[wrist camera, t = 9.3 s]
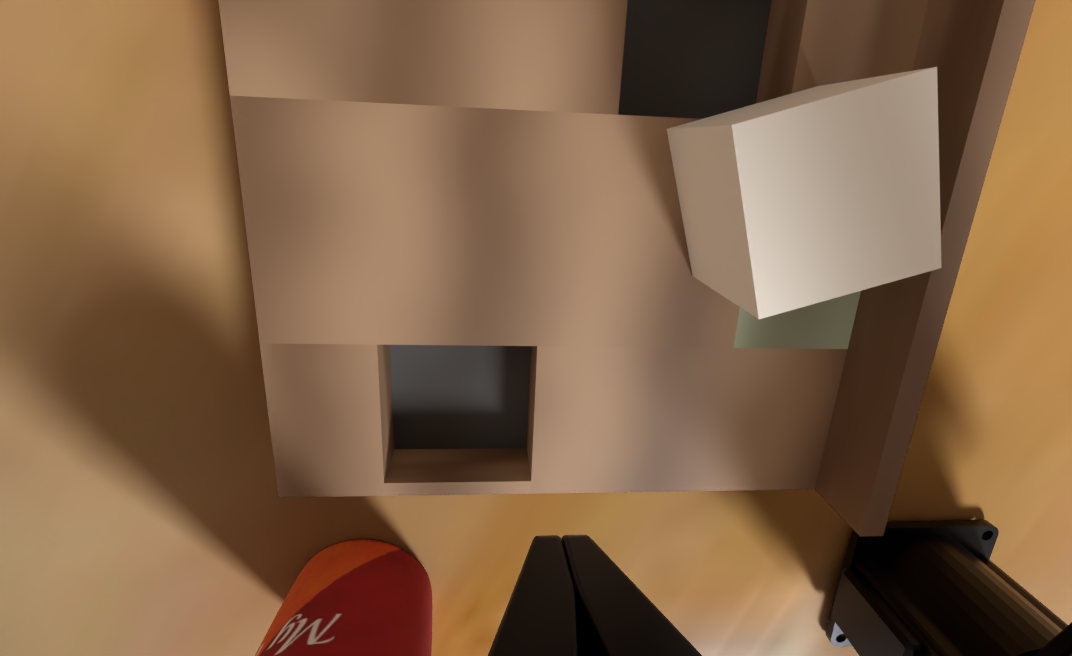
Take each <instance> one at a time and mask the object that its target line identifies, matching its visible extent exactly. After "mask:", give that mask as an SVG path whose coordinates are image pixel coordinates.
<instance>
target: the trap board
mask: <svg viewBox="0 0 1072 656" xmlns="http://www.w3.org/2000/svg"><path fill="white" fill-rule="evenodd" d="M218 2H219V10H220V18H221V27H222V35H223V43H224V52H225V60H226V68H227V76H228V85H229V93H230V101H231V110H232V118H233V126H234V135H235V143H236V151H237V159H238V168H239V176H240V184H241V193H242V201H243V209H244V218H245V226H246V234H247V242H248V251H249V259H250V267H251V276H252V284H253V292H254V301H255V309H256V317H257V325H258V334H259V342H260V350H261V359H262V367H263V375H264V384H265V392H266V400H267V409H268V417H269V425H270V433H271V442H272V450H273V458H274V467H275V475H276V483H277V492H278V497H341V496H406V495H471V494H536V493H602V492H667V491H732V490H797V489H815V490H816V491H817V492H818V493H819V494H820V495H821V496H822V497H823V498H824V499H825V500H826V501H827V502H828V503H829V504H830V505H831V506H832V508H833V509H834V510H835V511H836V512H837V513H838V514H839V515H840V516H841V517H842V518H843V519H844V520H845V521H846V522H847V523H848V524H849V526H850V527H851V528H852V529H853V530H854V531H855V532H856V533H857V534H858V535H859V536H883V534H884V531H885V527H886V524H887V520H888V517H889V513H890V510H891V506H892V503H893V499H894V496H895V492H896V489H897V485H898V482H899V478H900V475H901V471H902V468H903V464H904V461H905V457H906V454H907V450H908V447H909V443H910V439H911V436H912V432H913V429H914V425H915V422H916V418H917V415H918V411H919V408H920V404H921V401H922V397H923V394H924V390H925V387H926V383H927V380H928V376H929V373H930V369H931V366H932V362H933V359H934V355H935V352H936V348H937V345H938V341H939V338H940V334H941V331H942V327H943V324H944V320H945V317H946V313H947V310H948V306H949V302H950V299H951V295H952V292H953V288H954V285H955V281H956V278H957V274H958V271H959V267H960V264H961V260H962V257H963V253H964V250H965V246H966V243H967V239H968V236H969V232H970V229H971V225H972V222H973V218H974V215H975V211H976V208H977V204H978V201H979V197H980V194H981V190H982V187H983V183H984V180H985V176H986V173H987V169H988V166H989V162H990V158H991V155H992V151H993V148H994V144H995V141H996V137H997V134H998V130H999V127H1000V123H1001V120H1002V116H1003V113H1004V109H1005V106H1006V102H1007V99H1008V95H1009V92H1010V88H1011V85H1012V81H1013V78H1014V74H1015V71H1016V67H1017V64H1018V60H1019V57H1020V53H1021V50H1022V46H1023V43H1024V39H1025V36H1026V32H1027V29H1028V25H1029V21H1030V18H1031V14H1032V11H1033V7H1034V4H1035V0H218ZM932 67H937V84H938V130H939V175H940V221H941V267H942V268H939V269H936V270H932V271H929V272H925V273H922V274H918V275H915V276H911V277H908V278H904V279H901V280H897V281H893V282H890V283H886V284H883V285H879V286H876V287H872V288H869V289H865V290H862V291H858V292H854V293H851V294H847V295H844V296H840V297H837V298H833V299H830V300H826V301H823V302H819V303H816V304H812V305H808V306H805V307H801V308H798V309H794V310H791V311H787V312H784V313H780V314H777V315H773V316H770V317H766V318H762V319H757V318H756V317H754V316H753V315H751V314H750V313H748V312H747V311H745V310H744V309H742V308H741V307H739V306H737V305H736V304H734V303H733V302H731V301H730V300H728V299H727V298H725V297H724V296H722V295H721V294H719V293H718V292H716V291H715V290H713V289H712V288H710V287H709V286H707V285H705V284H704V283H702V282H701V281H699V280H698V279H696V278H695V277H693V275H692V270H691V264H690V258H689V253H688V247H687V241H686V236H685V230H684V225H683V219H682V213H681V208H680V202H679V196H678V191H677V185H676V179H675V174H674V168H673V163H672V157H671V151H670V146H669V140H668V134H667V129H668V128H672V127H676V126H679V125H683V124H686V123H690V122H693V121H697V120H700V119H704V118H707V117H711V116H714V115H718V114H721V113H725V112H728V111H732V110H735V109H739V108H742V107H746V106H749V105H753V104H756V103H760V102H764V101H767V100H771V99H774V98H778V97H781V96H785V95H788V94H792V93H795V92H799V91H802V90H806V89H809V88H813V87H816V86H822V85H828V84H834V83H840V82H846V81H852V80H858V79H865V78H871V77H877V76H883V75H889V74H895V73H902V72H908V71H914V70H920V69H926V68H932Z"/></svg>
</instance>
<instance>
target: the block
mask: <svg viewBox="0 0 1072 656" xmlns="http://www.w3.org/2000/svg"><path fill="white" fill-rule="evenodd" d="M667 134H668V140H669V146H670V151H671V157H672V163H673V168H674V174H675V179H676V185H677V191H678V196H679V202H680V208H681V213H682V219H683V225H684V230H685V236H686V241H687V247H688V253H689V258H690V264H691V270H692V275H693V277H695V278H696V279H698V280H699V281H701V282H702V283H704V284H705V285H707V286H709V287H710V288H712V289H713V290H715V291H716V292H718V293H719V294H721V295H722V296H724V297H725V298H727V299H728V300H730V301H731V302H733V303H734V304H736V305H737V306H739V307H741V308H742V309H744V310H745V311H747V312H748V313H750V314H751V315H753V316H754V317H756V318H757V319H762V318H766V317H770V316H773V315H777V314H780V313H784V312H787V311H791V310H794V309H798V308H801V307H805V306H808V305H812V304H816V303H819V302H823V301H826V300H830V299H833V298H837V297H840V296H844V295H847V294H851V293H854V292H858V291H862V290H865V289H869V288H872V287H876V286H879V285H883V284H886V283H890V282H893V281H897V280H901V279H904V278H908V277H911V276H915V275H918V274H922V273H925V272H929V271H932V270H936V269H939V268H942V267H941V221H940V175H939V130H938V84H937V67H932V68H926V69H920V70H914V71H908V72H902V73H895V74H889V75H883V76H877V77H871V78H865V79H858V80H852V81H846V82H840V83H834V84H828V85H822V86H816V87H813V88H809V89H806V90H802V91H799V92H795V93H792V94H788V95H785V96H781V97H778V98H774V99H771V100H767V101H764V102H760V103H756V104H753V105H749V106H746V107H742V108H739V109H735V110H732V111H728V112H725V113H721V114H718V115H714V116H711V117H707V118H704V119H700V120H697V121H693V122H690V123H686V124H683V125H679V126H676V127H672V128H668V129H667Z"/></svg>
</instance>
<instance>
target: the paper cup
mask: <svg viewBox="0 0 1072 656" xmlns="http://www.w3.org/2000/svg"><path fill="white" fill-rule="evenodd" d="M431 645H432V590H431V584H430V580H429V577H428V575H427V573H426V571H425V569H424V568H423V566H422V565H421V564H420V562H419V561H418V560H417V559H416V558H415V557H413V556H412V555H411V554H410V553H408V552H407V551H405V550H403V549H402V548H400V547H398V546H395V545H393V544H390V543H387V542H383V541H378V540H370V539H356V540H348V541H344V542H340V543H337V544H334V545H331V546H329V547H327V548H325V549H323V550H322V551H320V552H319V553H317V554H316V555H315V556H313V557H312V558H311V559H310V560H309V561H308V563H307V564H306V565H305V566H304V568H303V569H302V571H301V572H300V574H299V576H298V577H297V579H296V581H295V582H294V584H293V586H292V587H291V589H290V591H289V593H288V595H287V596H286V598H285V600H284V602H283V604H282V606H281V607H280V609H279V611H278V613H277V615H276V617H275V619H274V621H273V623H272V624H271V626H270V628H269V630H268V632H267V634H266V636H265V638H264V640H263V641H262V643H261V645H260V647H259V649H258V651H257V653H256V655H255V656H431Z"/></svg>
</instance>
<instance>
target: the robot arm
mask: <svg viewBox="0 0 1072 656" xmlns="http://www.w3.org/2000/svg"><path fill="white" fill-rule="evenodd" d="M997 536H998V529H997V528H996V527H995V526H993V525H992V524H991V523H989V522H988V521H986V520H958V521H912V522H887V524H886V527H885V531H884V534H883V536H859V535H858V534H857V533H856V532H855V531H854V530H853V531H852V534H851V538H850V542H849V545H848V549H847V553H846V557H845V561H844V564H843V568H842V572H841V576H840V580H839V583H838V587H837V591H836V595H835V599H834V602H833V606H832V610H831V614H830V618H829V621H828V625H827V629H826V636H827V638H828V639H829V640H830V642H831V643H832V645H834V646H837V647H844V646H853V647H854V649H855V650H856V651H857V653H858V654H859V656H1072V623H1070V624H1069V625H1067V624H1066V623H1065V622H1064V621H1062V620H1061V619H1060V618H1059V617H1058V616H1056V615H1055V614H1054V613H1053V612H1051V611H1050V610H1049V609H1048V608H1047V607H1045V606H1044V605H1043V604H1042V603H1041V602H1039V601H1038V600H1037V599H1036V598H1035V597H1033V596H1032V595H1031V594H1030V593H1029V592H1027V591H1026V590H1025V589H1024V588H1023V587H1021V586H1020V585H1019V584H1018V583H1017V582H1015V581H1014V580H1013V579H1012V578H1011V577H1009V576H1008V575H1007V574H1006V573H1005V572H1003V571H1002V570H1001V569H1000V568H999V567H997V566H996V565H995V564H994V563H993V562H991V561H990V560H989V558H990V556H991V553H992V550H993V547H994V545H995V542H996V539H997ZM488 656H702V655H701V654H700V653H699V652H698V651H697V650H696V649H695V648H694V647H693V646H692V645H691V643H690V642H689V641H688V640H687V639H686V638H685V637H684V636H683V635H682V634H681V633H680V632H679V631H678V630H677V629H676V628H675V627H674V626H673V624H672V623H671V622H670V621H669V620H668V619H667V618H666V617H665V616H664V615H663V614H662V613H661V612H660V611H659V610H658V609H657V608H656V607H655V605H654V604H653V603H652V602H651V601H650V600H649V599H648V598H647V597H646V596H645V595H644V594H643V593H642V592H641V591H640V590H639V589H638V588H637V586H636V585H635V584H634V583H633V582H632V581H631V580H630V579H629V578H628V577H627V576H626V575H625V574H624V573H623V572H622V571H621V570H620V569H619V567H618V566H617V565H616V564H615V563H614V562H613V561H612V560H611V559H610V558H609V557H608V556H607V555H606V554H605V553H604V552H603V551H602V550H601V548H600V547H599V546H598V545H597V544H596V543H595V542H594V541H593V540H592V539H591V538H590V537H589V536H587V535H564V536H563V537H562V539H561V538H560V537H559V536H557V535H550V536H536V537H535V538H534V539H533V541H532V544H531V546H530V549H529V552H528V554H527V557H526V559H525V562H524V564H523V567H522V570H521V572H520V575H519V577H518V580H517V582H516V585H515V587H514V590H513V593H512V595H511V598H510V600H509V603H508V605H507V608H506V611H505V613H504V616H503V618H502V621H501V623H500V626H499V628H498V631H497V634H496V636H495V639H494V641H493V644H492V646H491V649H490V652H489V654H488Z"/></svg>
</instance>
